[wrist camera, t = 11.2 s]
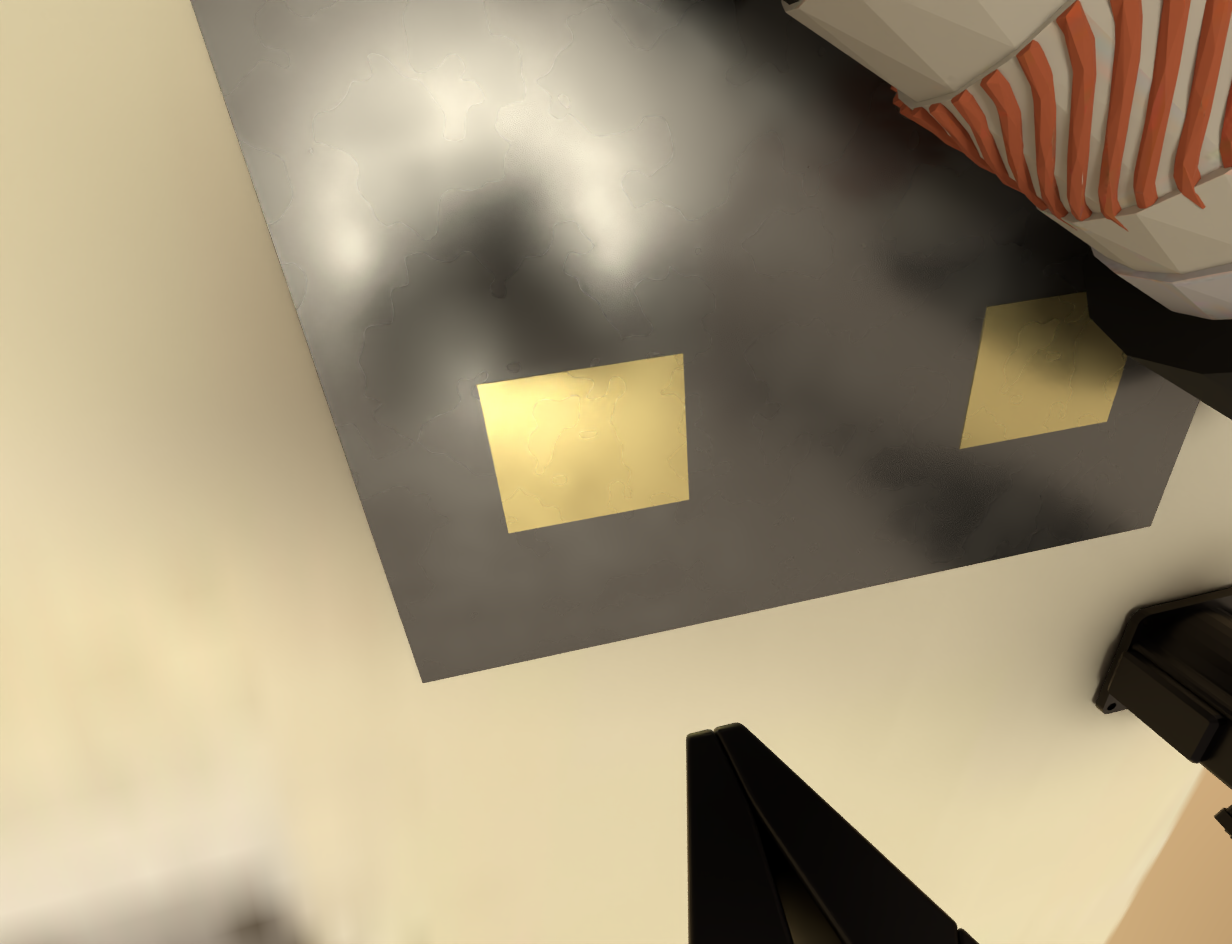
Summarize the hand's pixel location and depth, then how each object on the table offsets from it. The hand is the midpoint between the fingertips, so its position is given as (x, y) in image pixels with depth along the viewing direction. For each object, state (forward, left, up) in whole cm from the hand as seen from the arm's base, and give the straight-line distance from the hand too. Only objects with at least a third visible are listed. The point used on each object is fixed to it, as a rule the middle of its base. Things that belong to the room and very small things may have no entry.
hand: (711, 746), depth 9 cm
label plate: (-8, -5, -11) cm, 14 cm away
